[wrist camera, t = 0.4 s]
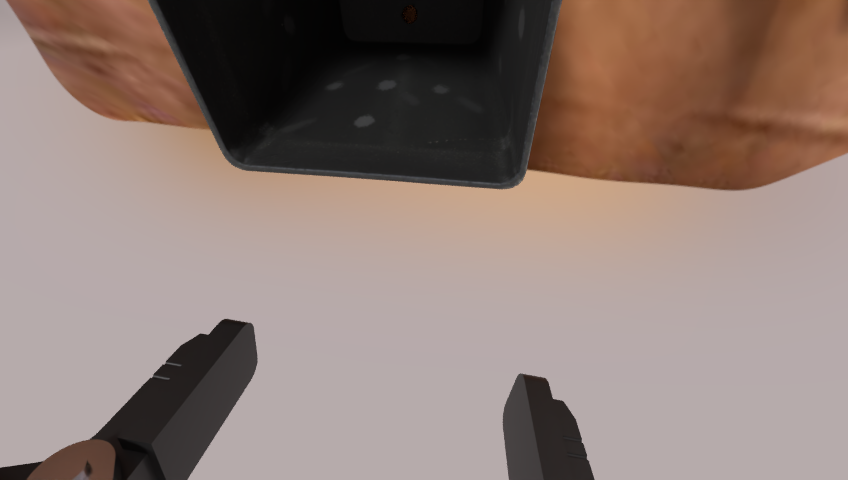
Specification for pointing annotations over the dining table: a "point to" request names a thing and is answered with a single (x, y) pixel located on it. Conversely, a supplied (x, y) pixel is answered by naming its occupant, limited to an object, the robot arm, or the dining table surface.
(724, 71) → the dining table surface
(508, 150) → the flower pot
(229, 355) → the robot arm
